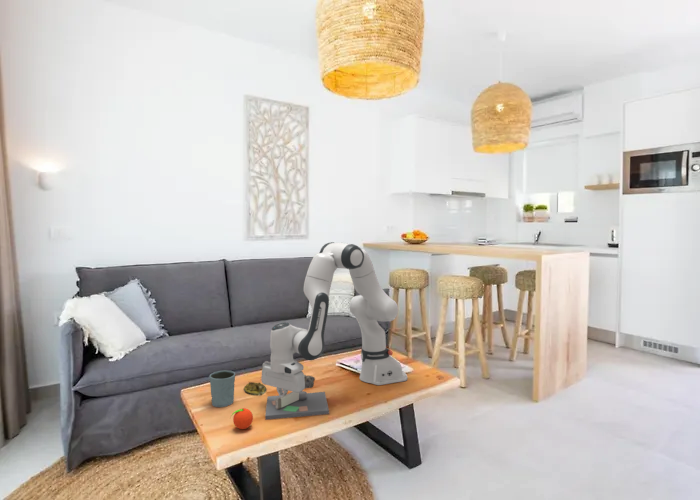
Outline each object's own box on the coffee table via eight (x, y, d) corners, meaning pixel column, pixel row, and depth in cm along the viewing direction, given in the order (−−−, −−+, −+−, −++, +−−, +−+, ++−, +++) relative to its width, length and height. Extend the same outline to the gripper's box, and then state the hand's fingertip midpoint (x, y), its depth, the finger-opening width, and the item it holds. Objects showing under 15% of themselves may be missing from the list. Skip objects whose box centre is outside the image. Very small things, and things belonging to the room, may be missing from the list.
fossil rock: (321, 386, 185) (311, 376, 199) (321, 378, 185) (311, 368, 198) (280, 395, 177) (272, 383, 191) (280, 386, 177) (272, 375, 191)
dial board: (324, 395, 174) (324, 391, 174) (329, 413, 157) (328, 409, 157) (267, 399, 171) (267, 396, 171) (265, 419, 153) (265, 415, 153)
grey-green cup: (209, 400, 172) (208, 372, 171) (234, 396, 176) (233, 368, 175) (211, 410, 162) (210, 380, 162) (237, 405, 166) (236, 376, 166)
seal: (239, 390, 186) (252, 400, 173) (237, 380, 185) (250, 390, 173) (258, 382, 191) (272, 392, 179) (257, 373, 190) (270, 382, 178)
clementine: (231, 435, 142) (231, 415, 142) (229, 426, 148) (228, 407, 148) (254, 430, 145) (254, 410, 145) (251, 421, 152) (250, 403, 151)
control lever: (301, 394, 171) (301, 386, 171) (309, 397, 168) (308, 388, 168) (273, 407, 159) (272, 398, 159) (280, 410, 157) (280, 400, 156)
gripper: (257, 362, 165) (258, 395, 166) (296, 371, 154) (297, 407, 155) (268, 358, 170) (269, 390, 171) (306, 366, 159) (307, 400, 160)
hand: (282, 398), depth 163 cm, fingers closed
